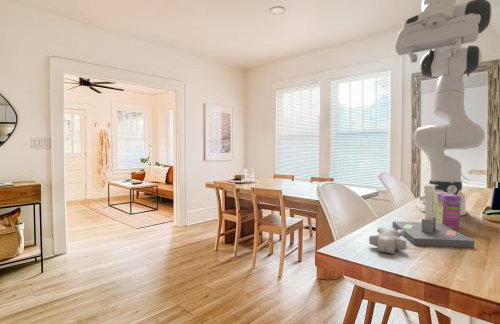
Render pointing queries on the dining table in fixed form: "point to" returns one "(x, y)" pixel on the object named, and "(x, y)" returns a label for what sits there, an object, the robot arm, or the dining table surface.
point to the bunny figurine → (388, 240)
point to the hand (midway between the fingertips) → (432, 57)
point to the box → (447, 209)
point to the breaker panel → (432, 234)
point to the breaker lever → (429, 201)
